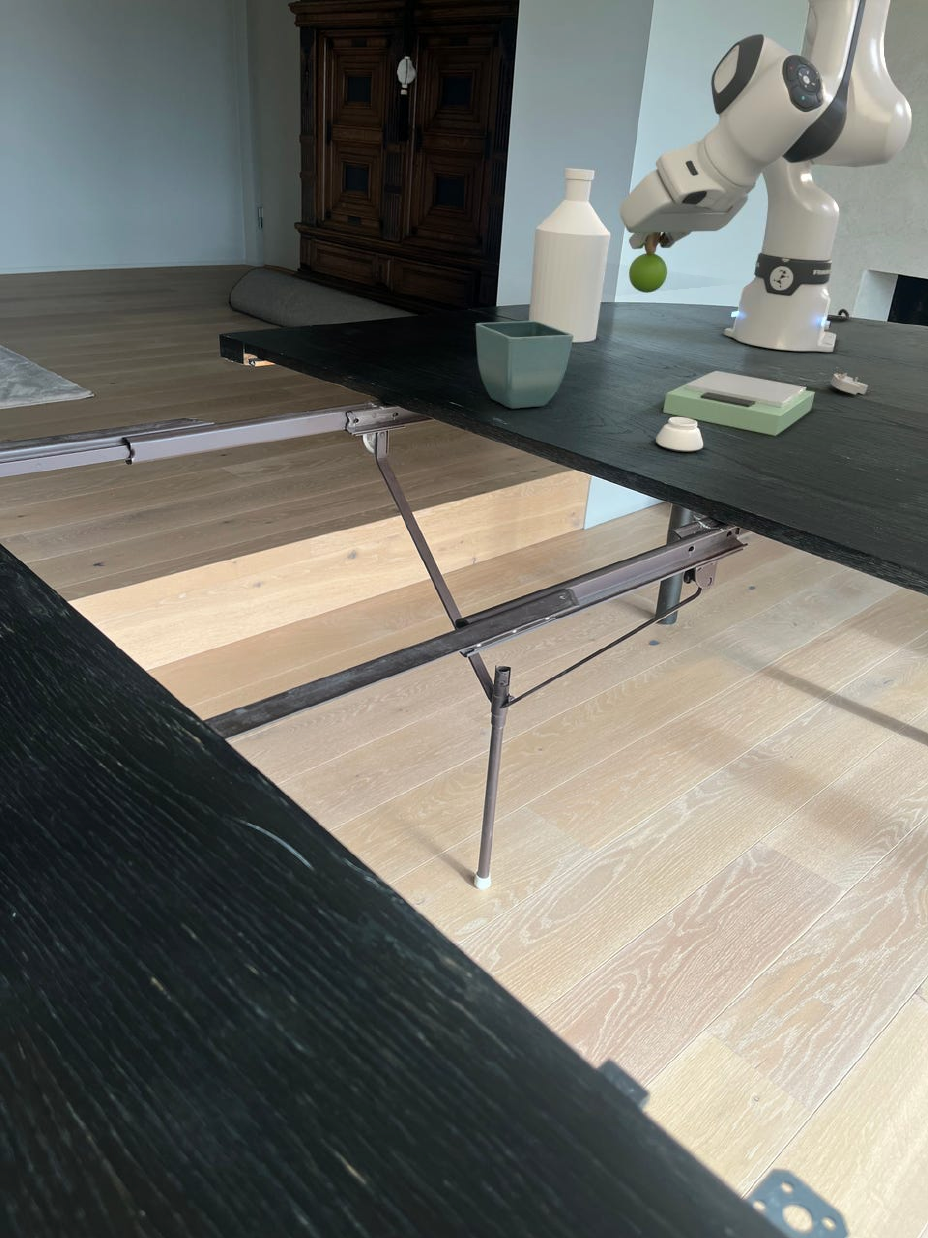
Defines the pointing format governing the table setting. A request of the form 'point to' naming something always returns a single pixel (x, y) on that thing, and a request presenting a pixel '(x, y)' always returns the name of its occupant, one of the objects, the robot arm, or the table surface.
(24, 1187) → the table surface
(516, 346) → the flower pot
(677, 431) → the lidless jar
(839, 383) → the game controller
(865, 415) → the table surface
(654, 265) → the snail figurine
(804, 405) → the scale
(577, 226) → the bottle
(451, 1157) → the table surface
